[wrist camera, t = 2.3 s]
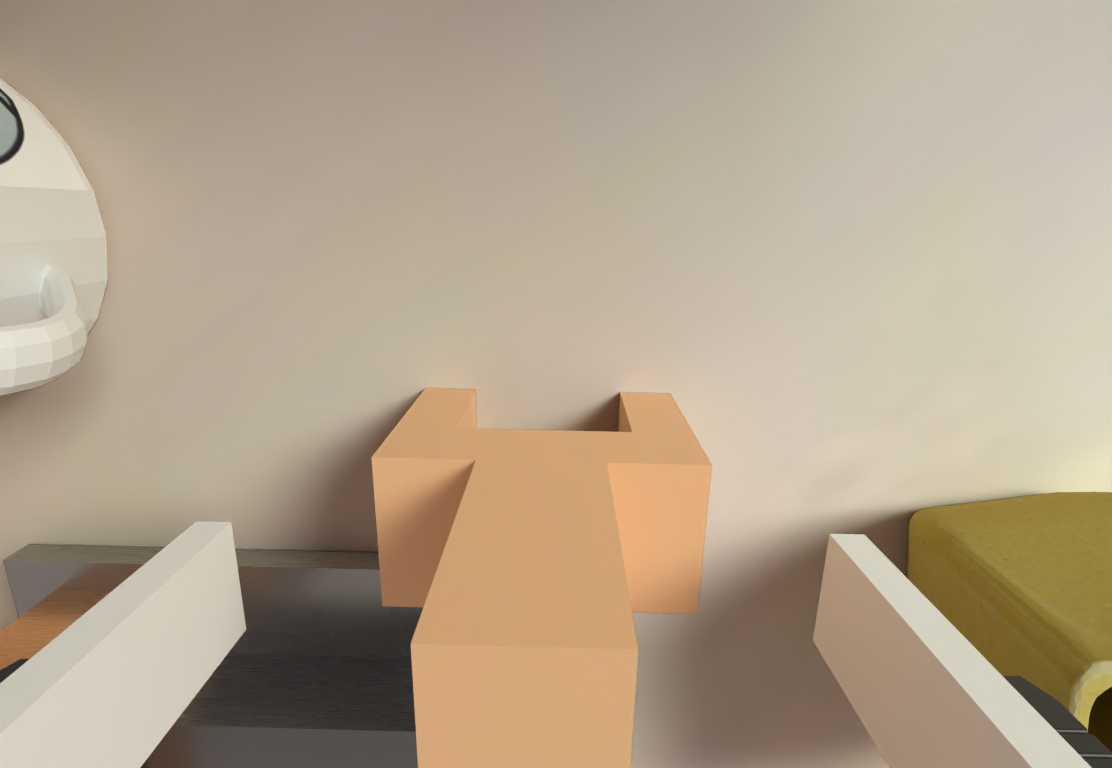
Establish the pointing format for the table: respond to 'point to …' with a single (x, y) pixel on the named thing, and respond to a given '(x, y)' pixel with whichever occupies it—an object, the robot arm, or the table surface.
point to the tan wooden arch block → (535, 573)
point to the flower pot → (1028, 590)
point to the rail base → (266, 589)
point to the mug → (44, 249)
